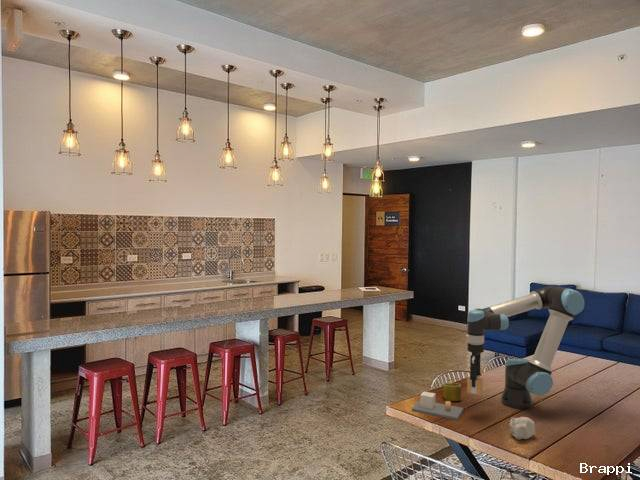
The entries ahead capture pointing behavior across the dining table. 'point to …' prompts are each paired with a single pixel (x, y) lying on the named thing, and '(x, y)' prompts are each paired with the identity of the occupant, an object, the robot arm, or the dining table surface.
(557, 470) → the dining table surface
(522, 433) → the white lumpy piece
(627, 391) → the dining table surface
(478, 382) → the light orange cube
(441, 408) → the board
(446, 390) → the mug
